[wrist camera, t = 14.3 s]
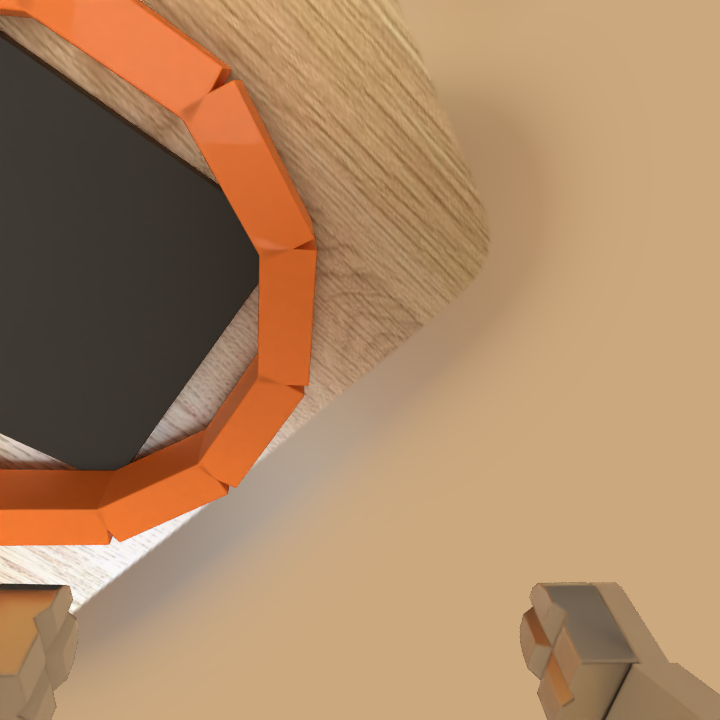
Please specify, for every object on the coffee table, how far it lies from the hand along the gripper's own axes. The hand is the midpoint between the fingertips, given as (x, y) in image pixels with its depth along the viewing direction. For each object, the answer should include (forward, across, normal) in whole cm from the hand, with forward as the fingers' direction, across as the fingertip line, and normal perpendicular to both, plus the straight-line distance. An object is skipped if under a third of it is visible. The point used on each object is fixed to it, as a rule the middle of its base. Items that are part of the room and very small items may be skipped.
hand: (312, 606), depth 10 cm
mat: (+18, +12, +1) cm, 21 cm away
